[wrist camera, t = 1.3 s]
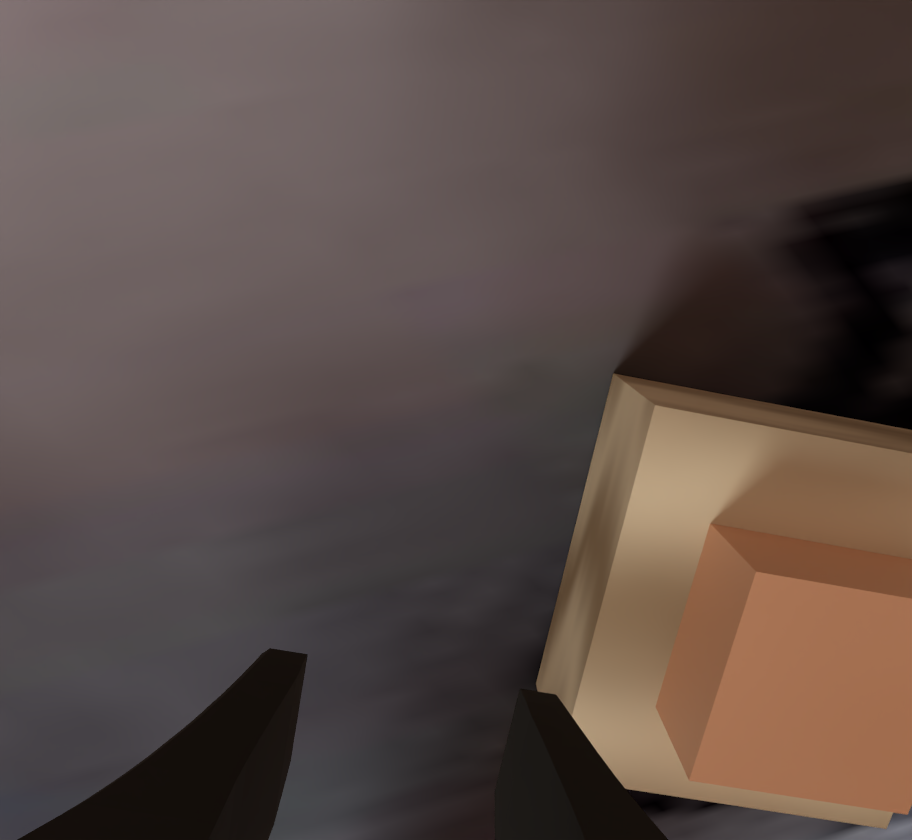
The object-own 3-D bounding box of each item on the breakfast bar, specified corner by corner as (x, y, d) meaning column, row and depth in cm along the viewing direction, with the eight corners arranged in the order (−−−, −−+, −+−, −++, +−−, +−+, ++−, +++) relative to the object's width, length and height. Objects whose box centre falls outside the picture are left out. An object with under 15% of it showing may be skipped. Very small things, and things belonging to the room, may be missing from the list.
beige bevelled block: (810, 728, 22) (886, 828, 19) (536, 683, 22) (555, 778, 18) (917, 431, 20) (1030, 475, 16) (613, 373, 20) (655, 405, 16)
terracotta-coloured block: (844, 737, 18) (907, 814, 15) (655, 706, 18) (689, 780, 15) (912, 559, 17) (990, 612, 14) (710, 523, 16) (756, 571, 14)
